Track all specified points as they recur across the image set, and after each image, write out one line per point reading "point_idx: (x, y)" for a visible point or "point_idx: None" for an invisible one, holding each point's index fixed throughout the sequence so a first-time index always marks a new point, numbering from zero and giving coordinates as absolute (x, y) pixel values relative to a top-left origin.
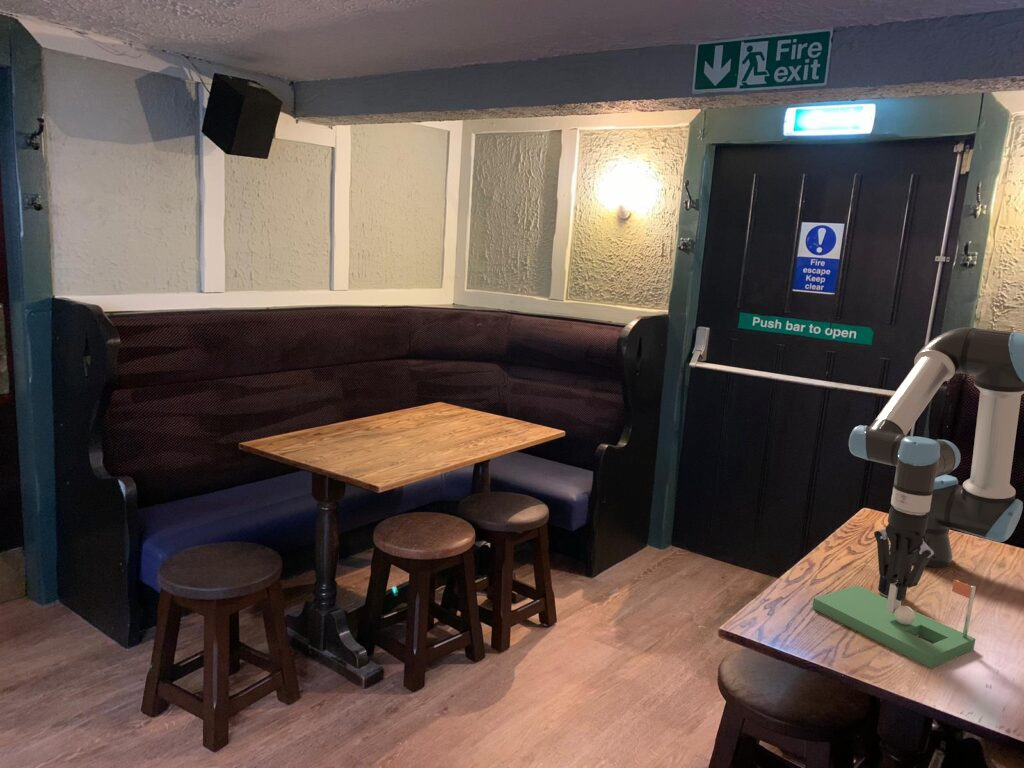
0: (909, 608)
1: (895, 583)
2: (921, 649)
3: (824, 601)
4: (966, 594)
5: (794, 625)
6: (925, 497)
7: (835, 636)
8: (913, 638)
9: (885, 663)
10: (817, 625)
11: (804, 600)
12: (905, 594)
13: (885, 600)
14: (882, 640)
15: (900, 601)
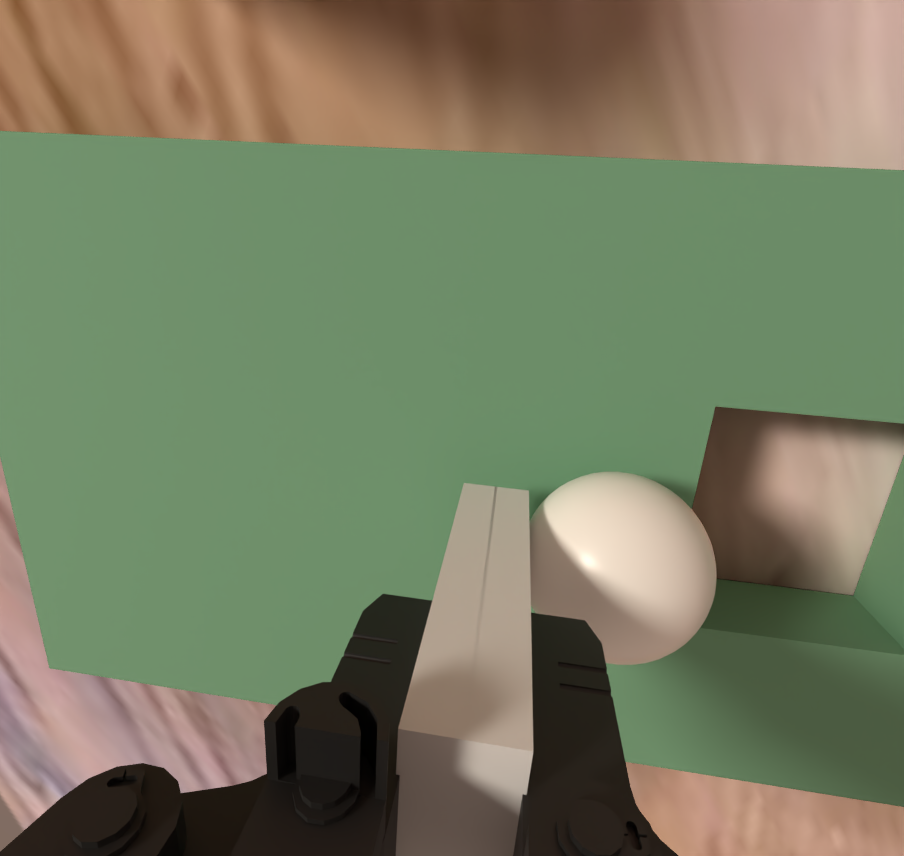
0: (671, 617)
1: (429, 834)
2: (867, 780)
3: (106, 655)
4: None
5: None
6: None
7: None
8: (764, 683)
9: (688, 851)
10: (263, 761)
11: (13, 566)
12: (607, 696)
13: (259, 200)
14: None
15: (528, 558)
